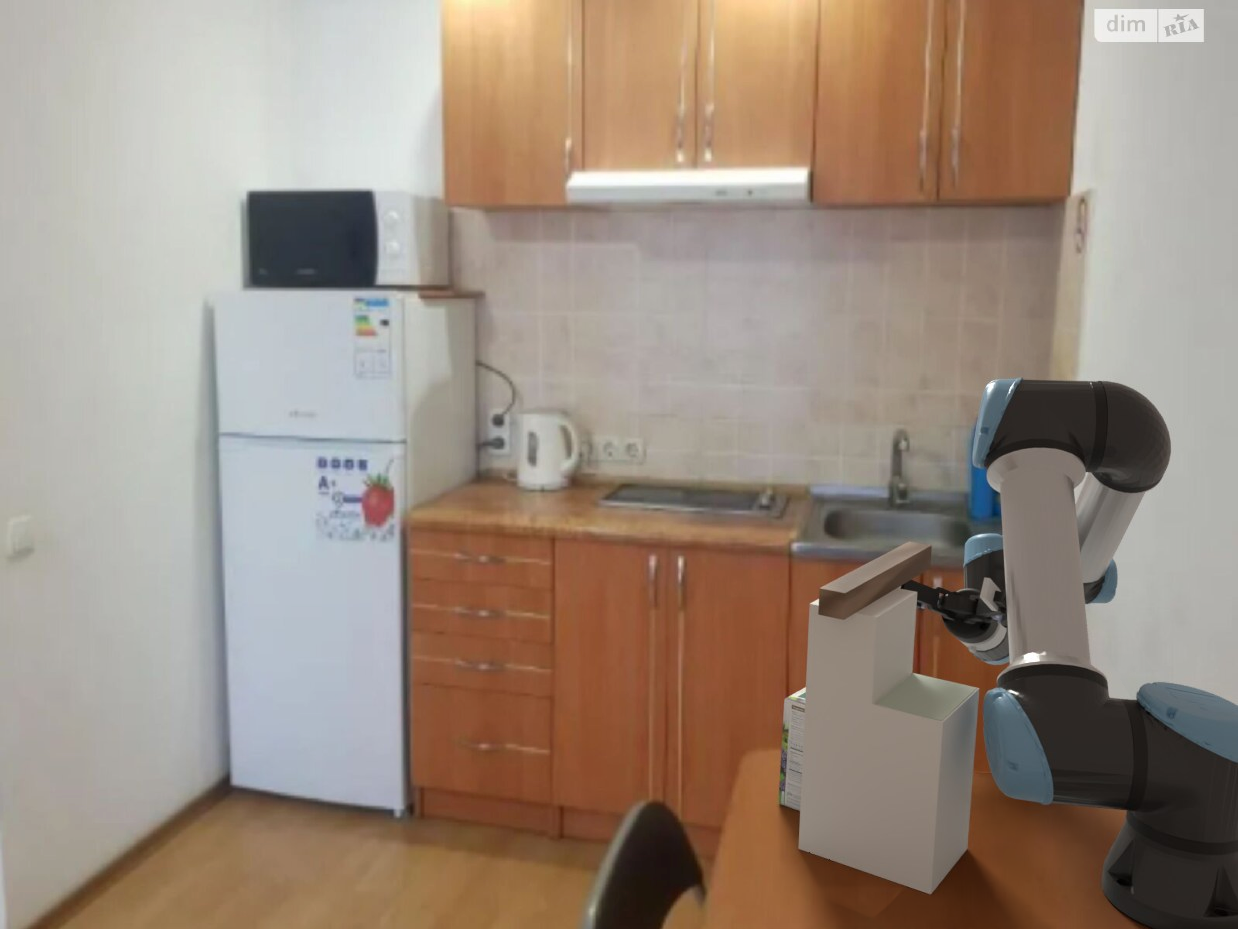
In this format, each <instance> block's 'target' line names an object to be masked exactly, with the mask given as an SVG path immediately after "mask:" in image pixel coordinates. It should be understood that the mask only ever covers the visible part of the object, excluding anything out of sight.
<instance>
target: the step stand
mask: <svg viewBox="0 0 1238 929" xmlns="http://www.w3.org/2000/svg"><path fill="white" fill-rule="evenodd" d="M916 606H917V592H915V591H910V590H904V589H899V588H896V589H895V590H893V591H891V592H890V593H888V594H886V595H885V596H883V597H881V598H880V599H878V600H876V601H875V602H873V603H871V604H870V605H868V606H866V607H865V608H863V609H861V610H860V611H858V612H856V613H855V614H853V615H851V616H850V617H848V618H846V619H845V620H842V619H837V618H832V617H827V616H823V615H818V610H819V598H817V599H816V600H814V601H812V602H810V603H809V611H808V613H809V614H808V628H807V630H808V633H807V635H808V636H807V652H806V654H807V656H806V675H805V687H806V695H805V717H804V739H803V761H802V783H801V805H800V811H799V828H798V829H799V830H798V832H799V834H798V850H800V851H804V852H807V853H809V852H810V853H809V854H812V855H816V856H818V857H822V858H825V859H827V860H829V859H830V860H831V861H833V862H835V863H839V864H841V865H845V866H847V867H850V868H853V869H856V870H859V871H861V872H865V873H867V874H869V875H873V876H876V877H879V878H882V879H884V880H888V881H891V882H893V883H896V884H899V885H903V886H905V887H909V888H911V889H913V890H917V891H920V892H923V893H924V894H925V893H926V894H928V895H932V894H933V892H934V891H935V890H936V889H937V887H938V886H939V885H940V884H941V883H942V881H943V880H944V879H945V878H946V876H947V875H948V874H949V872H951V870H952V869H953V867H954V866H955V865H956V864H957V862H958V861H959V860H960V859H961V857H962V856H963V855H964V854H965V852H966V851H967V850H968V842H969V832H970V818H971V817H970V815H971V806H972V805H971V804H972V792H973V790H972V789H973V778H974V777H973V776H974V764H975V750H976V741H977V740H976V738H977V725H978V710H979V698H980V688H979V687H975V686H971V685H967V684H962V683H958V682H954V681H949V680H945V679H942V678H941V679H940V678H936V677H932V676H928V675H924V674H919V673H915V672H913V670H914V669H913V667H914V666H913V665H914V649H915V648H914V647H915V635H916V623H917V622H916V620H917V608H916Z"/></svg>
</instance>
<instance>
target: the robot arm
mask: <svg viewBox="0 0 1238 929" xmlns="http://www.w3.org/2000/svg"><path fill="white" fill-rule="evenodd" d="M975 427H976V428H975V433H974V439H973V447H972V454H971V455H972V456H971V460H972V465H973V467H975V468H978V469H980V470H985V469H986V470H985V471H986V481H987V483H988V484H989V486H990V488H992V489H993V490H994V491H996V492H997V493H999V494H1000V495H999V496H1000V508H1001V509H1000V510H1001V514H1000V515H1001V528H1002V535H1001V534H999V533H990V532H989V533H978V534H976V535H973V536H971V537H970V538H968V539H967V541H965V544H964V555H963V556H964V557H963V558H964V560H963V565H962V566H963V567H962V568H963V581H964V582H963V583H964V584H963V587H964V588H962V589H959V590H956V591H955V590H953V591H950V590H949V589H945V588H943V587H940V586H933V587H931V586H929V585H926V584H923V583H921V582H918V581H916V580H913V579H911V580H910V581H908V582H906V583H905V584H903V585H901V586H900V587H898V588H899V589H904V590H910V591H915V592H917V606H916V610H918V611H925V610H926V608H927V610H929V611H930V612H933V613H936V614H938V615H941V619H942V622H943V626H944V627H945V628H946V630H947V631H948V632H949V633H950V634H951V635H952V636H954V637H955V639H957V640H958V641H959V642H961V643H962V644H963V646H965V647H966V648H967V649H968V651H969V652H970V653H972V655H973V656H974V657H975V658H977V659H978V660H980V661H983V662H984V663H986V664H988V665H993V666H998V665H999V666H1000V665H1005V664H1007V663H1009V664H1008V665H1007V667H1006V668H1005V669H1004V670H1002V671H1001V672H1000V673H999V674H998V676H997V678H996V687H995V688H993V689H990V690H987V692H986V693H985V695H984V698H983V704H982V718H983V724H984V725H983V726H982V728H983V737H984V738H983V740H984V744H985V746H984V747H985V752H986V757H987V761H988V762H987V763H988V765H989V769H990V772H991V775H992V777H993V778H992V779H993V780H994V782H995V784H996V785H997V787H998V789H999V790H1000V791H1001V793H1003V794H1004V795H1005V796H1006V797H1008V798H1011V799H1014V800H1021V801H1029V802H1034V803H1039V804H1040V805H1046V806H1048V805H1050V804H1053V805H1064V806H1074V807H1075V806H1076V807H1087V808H1098V809H1099V808H1100V809H1106V810H1107V809H1109V810H1119V811H1120V810H1121V811H1126V813H1125V819H1124V820H1125V821H1124V822H1123V825H1122V827H1121V828H1120V830H1119V832H1118V834H1117V836H1116V838H1115V841H1114V842H1113V844H1112V846H1111V847H1110V850H1109V851H1108V853H1107V855H1106V857H1105V859H1104V862H1103V866H1102V876H1101V888H1102V891H1103V894H1104V895H1105V897H1106V898H1107V899H1108V900H1109V902H1110V903H1111V904H1112V905H1113V906H1114V907H1115V908H1117V910H1119V911H1120V912H1121V913H1124V914H1125V915H1126V916H1128V917H1130V918H1131V919H1133V920H1134V921H1137V922H1138V923H1140V924H1143V925H1144V926H1147V927H1150V928H1152V929H1238V705H1237V704H1235V703H1234V702H1232V701H1230V700H1228V699H1226V698H1224V697H1221V696H1219V695H1217V694H1215V693H1212V692H1209V691H1206V690H1203V689H1201V688H1196V687H1192V686H1189V685H1184V684H1180V683H1173V682H1167V681H1154V682H1151V683H1150V682H1147V683H1144V684H1143V685H1141V686H1140V687H1139V690H1138V691H1136V698H1135V699H1128V698H1117V697H1110V695H1109V694H1110V693H1109V685H1108V684H1109V683H1108V678H1107V676H1106V675H1105V674H1104V672H1102V671H1100V670H1099V669H1098V668H1097V667H1095V666H1093V665H1092V662H1091V652H1090V650H1091V649H1090V641H1089V640H1090V639H1089V631H1088V619H1087V612H1086V611H1087V610H1086V605H1091V604H1108V603H1110V602H1112V601H1113V599H1114V598H1115V596H1116V592H1117V587H1118V580H1119V579H1118V575H1119V574H1118V568H1117V563H1116V562H1115V559H1114V556H1115V554H1116V552H1117V550H1118V548H1119V546H1120V544H1121V542H1122V540H1123V539H1124V536H1125V534H1126V532H1127V530H1128V528H1129V527H1130V524H1131V522H1132V520H1133V519H1134V516H1135V514H1136V512H1137V510H1138V509H1139V506H1140V504H1141V502H1142V501H1143V497H1144V496H1145V494H1146V492H1149V491H1151V490H1153V489H1154V488H1156V487H1157V486H1158V485H1159V483H1160V482H1161V481H1162V479H1163V477H1164V475H1165V473H1166V472H1167V468H1168V467H1169V463H1170V460H1171V453H1172V442H1171V436H1170V432H1169V428H1168V426H1167V423H1166V421H1165V419H1164V417H1163V416H1162V414H1161V413H1160V411H1159V410H1158V408H1157V407H1156V405H1155V404H1153V402H1152V401H1151V400H1150V399H1149V398H1148V397H1146V396H1145V395H1144V394H1142V393H1141V392H1139V391H1137V389H1135V388H1132V387H1130V386H1128V385H1126V384H1123V383H1119V382H1114V381H1109V380H1097V381H1095V380H1093V381H1092V380H1091V381H1090V380H1062V379H1061V380H1059V379H1057V380H1055V379H1047V380H1046V379H1024V377H1021V376H1020V377H1018V378H998V379H997V378H996V379H993V380H991V381H990V382H988V383H987V384H986V386H985V387H984V390H983V392H982V396H981V400H980V404H979V410H978V414H977V420H976V426H975ZM1086 473H1087V475H1086ZM1084 479H1085V480H1084ZM1083 481H1084V483H1083V485H1082V487H1081V490H1080V492H1079V495H1078V497H1077V500H1076V498H1075V489H1076V488H1077V487H1078V486H1080V484H1082V482H1083ZM940 594H942V595H940Z"/></svg>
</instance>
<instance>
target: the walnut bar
mask: <svg viewBox="0 0 1238 929" xmlns="http://www.w3.org/2000/svg"><path fill="white" fill-rule="evenodd" d="M932 547H933V545H932V544H926V543H920V542H915V541H907V542H905V543H903V544H901V545H900V546H898V547H896V548H894V549H892V550H890V551H888V552H885V553H884V554H883V555H880V556H879V557H877V558H875V559H873V560H871V561H869V562H867V563H865V564H863V565H861V566H859V567H858V568H855V569H854V570H852V571H850V572H847V573H846V574H844V575H842V576H840V577H838V578H836V579H834V580H833V581H831V582H829V583H826V584H824V585H823V586H820V587H819V592H818V594H819V595H818V599H819V610H818V615H823V616H827V617H832V618H837V619H842V620H845V619H846V618H848V617H850V616H851V615H853V614H855V613H856V612H858V611H860V610H861V609H863V608H865V607H866V606H868V605H870V604H871V603H873V602H875V601H876V600H878V599H880V598H881V597H883V596H885V595H886V594H888V593H890V592H891V591H893V590H895V589H896V588H898V587H900V586H901V585H903V584H905V583H906V582H908V581H910V580H913V579H915V578H916V577H918V576H920V575H921V574H924V573H925V572H927V571H928V570H930V569H931V565H932V562H931V561H932V549H933V548H932Z"/></svg>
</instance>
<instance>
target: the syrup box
mask: <svg viewBox="0 0 1238 929" xmlns="http://www.w3.org/2000/svg"><path fill="white" fill-rule="evenodd" d="M805 695H806V686H805V687H803V688H802V689H800V690H797V691H796V692H795V693H792V694H791V695H789V696H787V697H785V698H784V703H783V715H782V716H783V717H782V718H783V719H782V730H781V731H782V732H781V733H782V734H781V750H780V751H781V752H780V766H779V768H780V769H779V784H778V804H779V805H782V806H785V807H788V808H789V809H793V810H796V811H798V812H800V805H801V783H802V761H803V739H804V717H805Z"/></svg>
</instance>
